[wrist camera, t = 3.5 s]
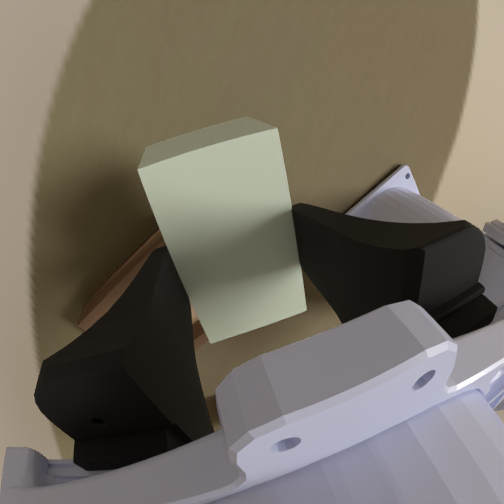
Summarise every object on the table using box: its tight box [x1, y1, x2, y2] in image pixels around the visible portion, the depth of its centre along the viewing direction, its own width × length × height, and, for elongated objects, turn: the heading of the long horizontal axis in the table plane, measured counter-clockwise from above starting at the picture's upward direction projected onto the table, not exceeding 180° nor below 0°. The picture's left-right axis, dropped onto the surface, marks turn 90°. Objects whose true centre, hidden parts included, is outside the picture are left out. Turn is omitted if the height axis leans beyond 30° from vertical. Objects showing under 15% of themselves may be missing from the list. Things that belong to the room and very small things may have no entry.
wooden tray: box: [78, 228, 209, 350], centre depth 21 cm, size 8×12×2 cm
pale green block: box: [137, 117, 307, 343], centre depth 13 cm, size 4×8×4 cm, turn 13°
